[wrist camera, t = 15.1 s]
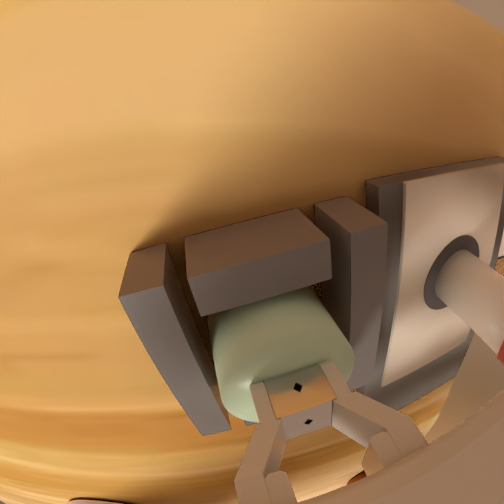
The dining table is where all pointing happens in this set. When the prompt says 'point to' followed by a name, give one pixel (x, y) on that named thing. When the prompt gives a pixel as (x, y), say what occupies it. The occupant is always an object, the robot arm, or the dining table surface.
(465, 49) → the dining table surface
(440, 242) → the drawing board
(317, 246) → the button base
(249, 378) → the button
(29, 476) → the dining table surface
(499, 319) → the marker
